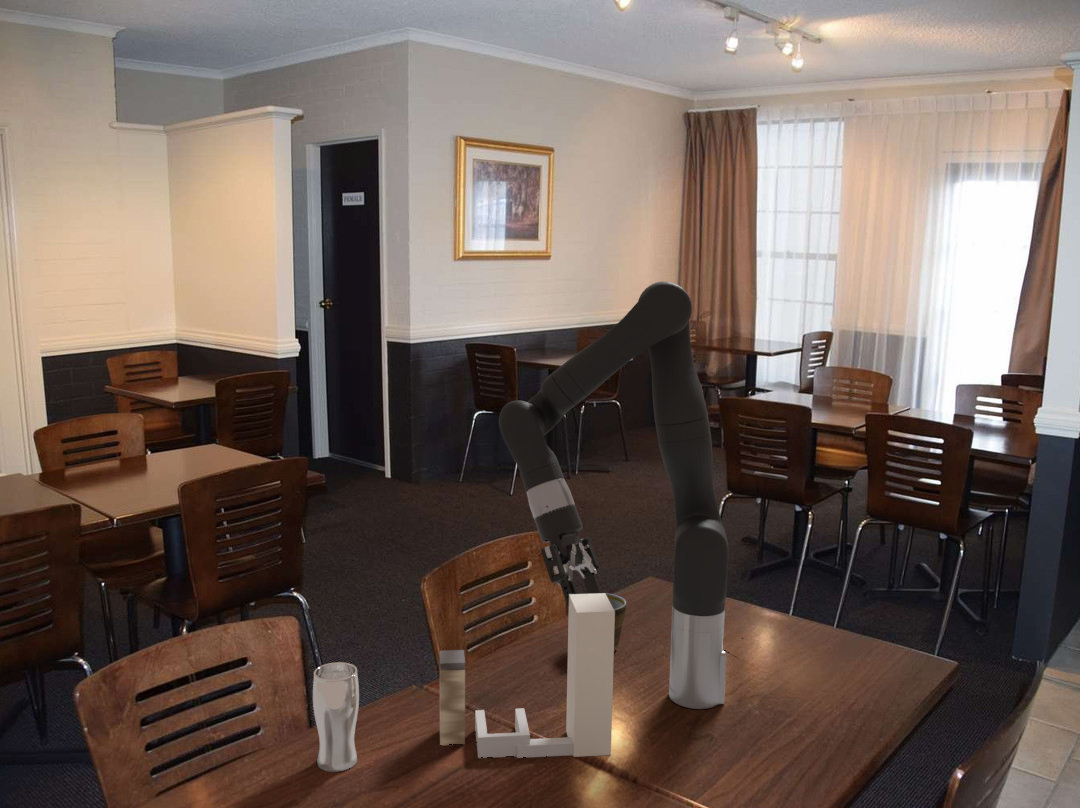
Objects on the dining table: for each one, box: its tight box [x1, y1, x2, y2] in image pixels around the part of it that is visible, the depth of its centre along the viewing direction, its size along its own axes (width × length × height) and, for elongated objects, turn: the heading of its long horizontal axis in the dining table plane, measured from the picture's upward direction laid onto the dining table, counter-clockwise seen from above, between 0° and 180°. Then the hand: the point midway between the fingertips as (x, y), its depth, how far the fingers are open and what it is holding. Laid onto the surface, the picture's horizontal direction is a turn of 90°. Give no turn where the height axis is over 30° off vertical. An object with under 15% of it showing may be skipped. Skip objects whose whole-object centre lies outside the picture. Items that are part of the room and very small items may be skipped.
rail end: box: [439, 649, 466, 746], centre depth 152 cm, size 4×5×14 cm
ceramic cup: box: [604, 592, 627, 652], centre depth 187 cm, size 13×10×10 cm
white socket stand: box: [474, 592, 615, 759], centre depth 150 cm, size 21×10×24 cm, turn 97°
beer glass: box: [312, 661, 360, 773], centre depth 144 cm, size 7×7×15 cm
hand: (585, 601), depth 156 cm, fingers open, 8 cm apart
